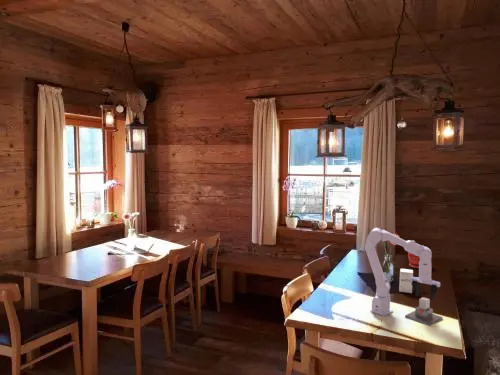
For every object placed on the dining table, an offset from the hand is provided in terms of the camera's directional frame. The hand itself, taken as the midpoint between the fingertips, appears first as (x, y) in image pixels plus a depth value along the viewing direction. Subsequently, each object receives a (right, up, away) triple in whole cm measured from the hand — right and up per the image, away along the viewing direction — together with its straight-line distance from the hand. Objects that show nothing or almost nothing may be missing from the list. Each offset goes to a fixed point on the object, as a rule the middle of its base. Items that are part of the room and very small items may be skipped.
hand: (424, 297), depth 209 cm
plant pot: (+34, -3, +94) cm, 100 cm away
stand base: (0, -11, +1) cm, 11 cm away
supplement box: (+6, -7, +42) cm, 43 cm away
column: (0, -9, 0) cm, 9 cm away
